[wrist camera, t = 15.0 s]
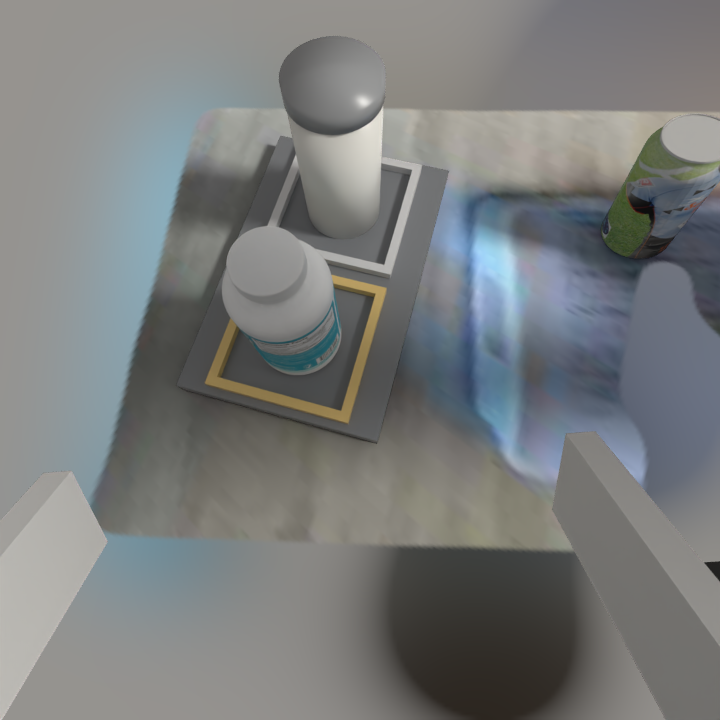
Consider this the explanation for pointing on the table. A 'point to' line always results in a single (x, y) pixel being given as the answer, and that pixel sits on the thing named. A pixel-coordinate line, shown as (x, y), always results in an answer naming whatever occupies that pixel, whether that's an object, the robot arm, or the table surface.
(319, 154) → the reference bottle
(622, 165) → the table surface
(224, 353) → the grey base plate
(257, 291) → the pill bottle
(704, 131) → the beverage can
